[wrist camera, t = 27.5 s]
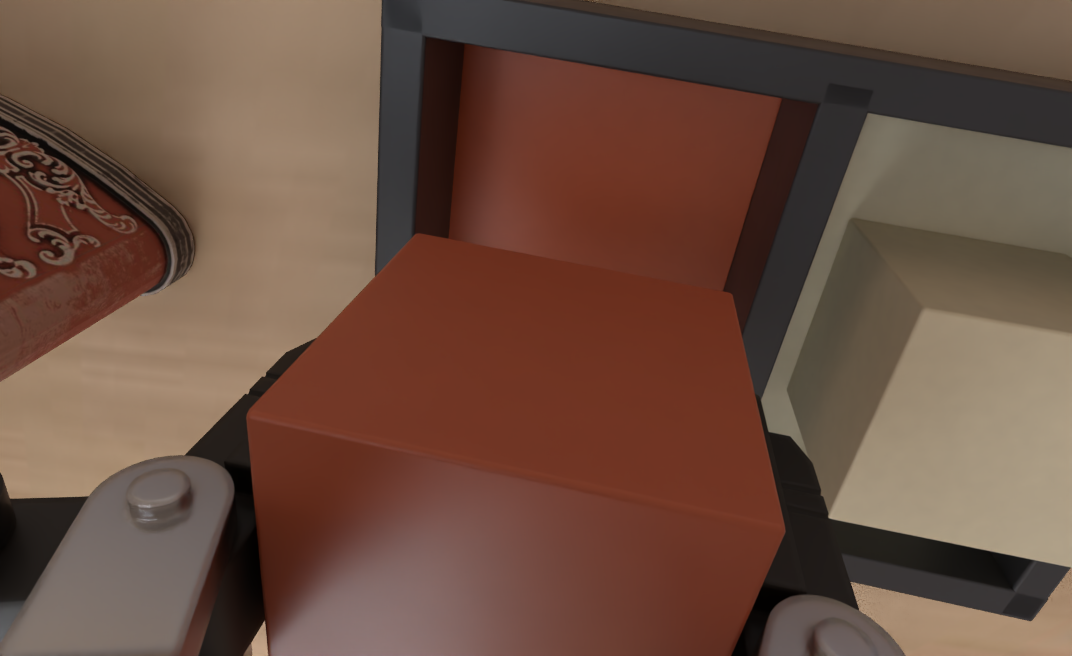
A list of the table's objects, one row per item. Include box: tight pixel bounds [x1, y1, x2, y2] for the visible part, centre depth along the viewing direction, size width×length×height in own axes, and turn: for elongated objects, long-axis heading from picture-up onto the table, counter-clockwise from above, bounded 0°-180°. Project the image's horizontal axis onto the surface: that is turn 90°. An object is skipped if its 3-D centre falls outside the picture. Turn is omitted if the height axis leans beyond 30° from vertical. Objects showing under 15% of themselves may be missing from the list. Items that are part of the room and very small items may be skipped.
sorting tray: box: [375, 0, 1072, 621], centre depth 15 cm, size 16×11×4 cm
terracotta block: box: [246, 233, 786, 656], centre depth 8 cm, size 4×4×4 cm
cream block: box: [787, 218, 1072, 568], centre depth 13 cm, size 4×4×4 cm
